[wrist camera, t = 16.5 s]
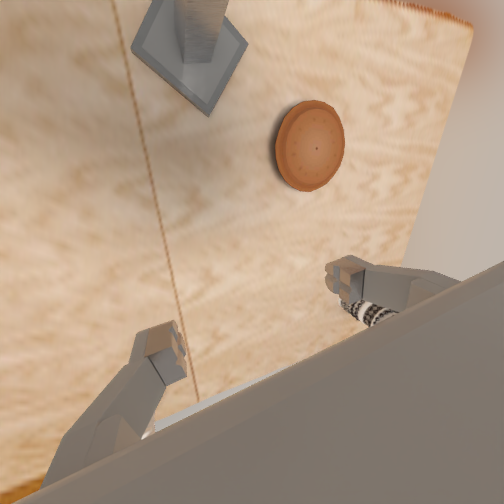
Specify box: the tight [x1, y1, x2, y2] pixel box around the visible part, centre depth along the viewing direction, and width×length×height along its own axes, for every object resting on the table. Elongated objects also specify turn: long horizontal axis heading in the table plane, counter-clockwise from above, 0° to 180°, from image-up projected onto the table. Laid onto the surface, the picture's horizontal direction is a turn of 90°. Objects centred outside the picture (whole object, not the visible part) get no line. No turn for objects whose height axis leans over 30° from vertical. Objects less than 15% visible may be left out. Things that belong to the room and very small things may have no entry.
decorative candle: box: [338, 298, 399, 327], centre depth 51 cm, size 9×9×25 cm
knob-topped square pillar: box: [174, 0, 229, 64], centre depth 22 cm, size 4×4×14 cm
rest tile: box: [131, 0, 248, 117], centre depth 28 cm, size 12×12×1 cm
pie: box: [275, 100, 345, 192], centre depth 38 cm, size 15×16×5 cm
